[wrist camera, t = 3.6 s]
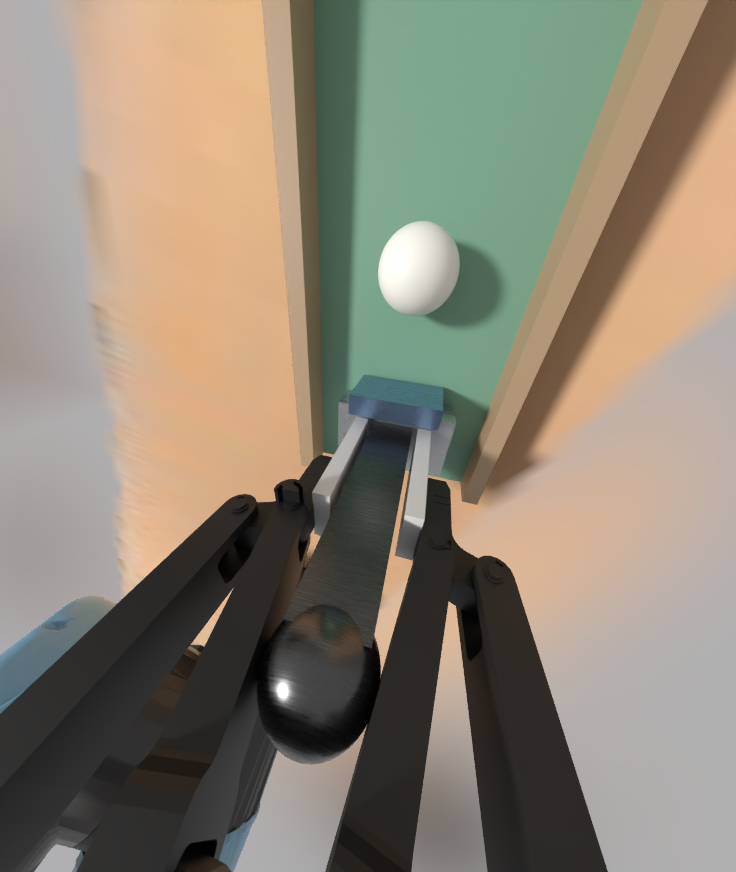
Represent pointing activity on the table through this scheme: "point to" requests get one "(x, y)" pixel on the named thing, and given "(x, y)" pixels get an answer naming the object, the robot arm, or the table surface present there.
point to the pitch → (452, 186)
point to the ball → (418, 268)
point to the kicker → (347, 580)
